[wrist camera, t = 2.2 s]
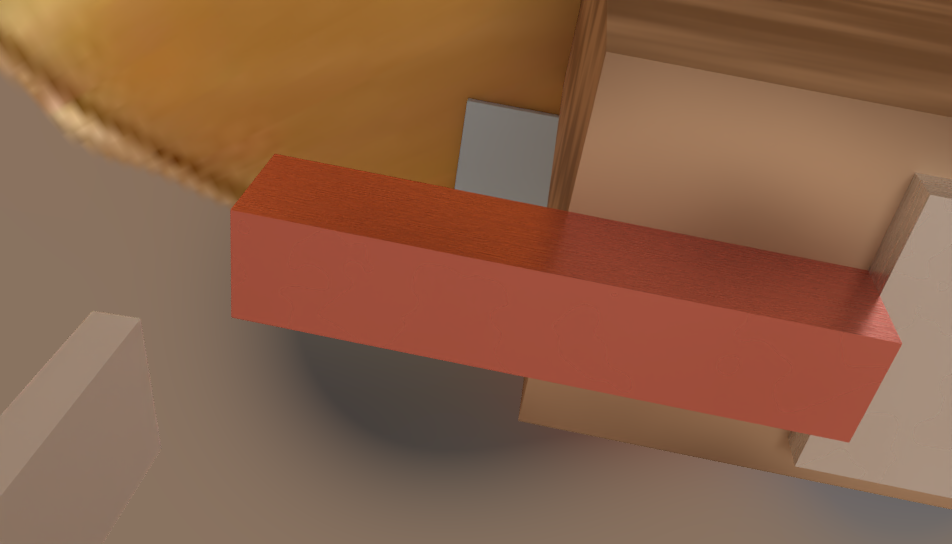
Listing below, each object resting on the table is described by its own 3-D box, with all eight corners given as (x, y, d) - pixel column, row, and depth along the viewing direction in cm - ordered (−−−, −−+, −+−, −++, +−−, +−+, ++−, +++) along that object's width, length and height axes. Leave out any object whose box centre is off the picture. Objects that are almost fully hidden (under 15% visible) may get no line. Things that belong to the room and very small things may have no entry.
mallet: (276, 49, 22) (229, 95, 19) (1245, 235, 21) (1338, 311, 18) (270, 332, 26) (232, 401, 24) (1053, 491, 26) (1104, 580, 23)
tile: (469, 94, 54) (467, 100, 53) (595, 118, 54) (595, 124, 53) (453, 206, 58) (450, 213, 57) (569, 228, 58) (569, 235, 57)
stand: (609, -129, 46) (606, 51, 20) (910, -73, 45) (1285, 180, 20) (563, 85, 52) (518, 420, 27) (826, 135, 52) (1028, 525, 27)
